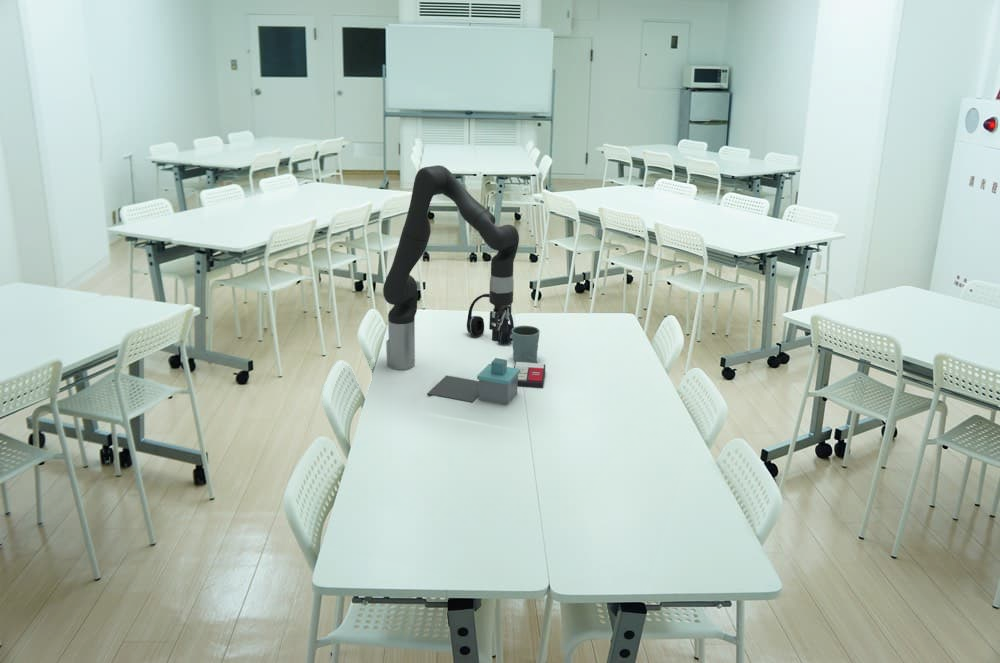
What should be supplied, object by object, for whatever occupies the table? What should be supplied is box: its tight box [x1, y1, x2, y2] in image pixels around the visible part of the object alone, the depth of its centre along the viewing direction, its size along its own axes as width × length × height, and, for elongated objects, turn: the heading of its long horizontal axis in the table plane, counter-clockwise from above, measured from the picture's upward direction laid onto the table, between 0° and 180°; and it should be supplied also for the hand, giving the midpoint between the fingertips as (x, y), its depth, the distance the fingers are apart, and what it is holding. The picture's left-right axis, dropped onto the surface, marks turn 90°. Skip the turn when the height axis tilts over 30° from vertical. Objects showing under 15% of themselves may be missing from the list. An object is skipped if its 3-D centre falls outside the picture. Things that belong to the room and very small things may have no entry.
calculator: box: [513, 362, 546, 389], centre depth 295 cm, size 11×4×15 cm
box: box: [478, 375, 519, 406], centre depth 279 cm, size 10×10×8 cm
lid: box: [476, 357, 520, 385], centre depth 277 cm, size 11×11×7 cm
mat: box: [426, 375, 479, 404], centre depth 285 cm, size 16×16×1 cm
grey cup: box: [511, 325, 541, 363], centre depth 309 cm, size 10×10×12 cm
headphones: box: [466, 293, 515, 345], centre depth 327 cm, size 20×7×18 cm, turn 57°
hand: (500, 336), depth 273 cm, fingers open, 8 cm apart
